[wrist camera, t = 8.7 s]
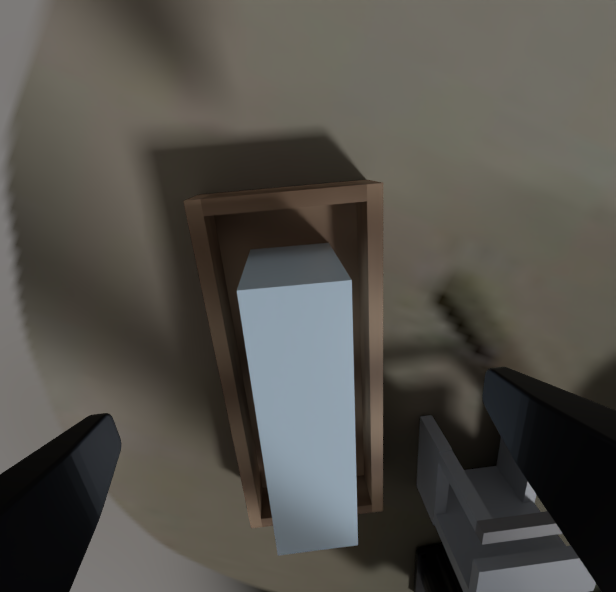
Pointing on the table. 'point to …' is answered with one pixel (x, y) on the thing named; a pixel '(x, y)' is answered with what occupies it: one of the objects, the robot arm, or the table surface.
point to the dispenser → (493, 523)
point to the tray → (227, 321)
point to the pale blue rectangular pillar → (303, 391)
